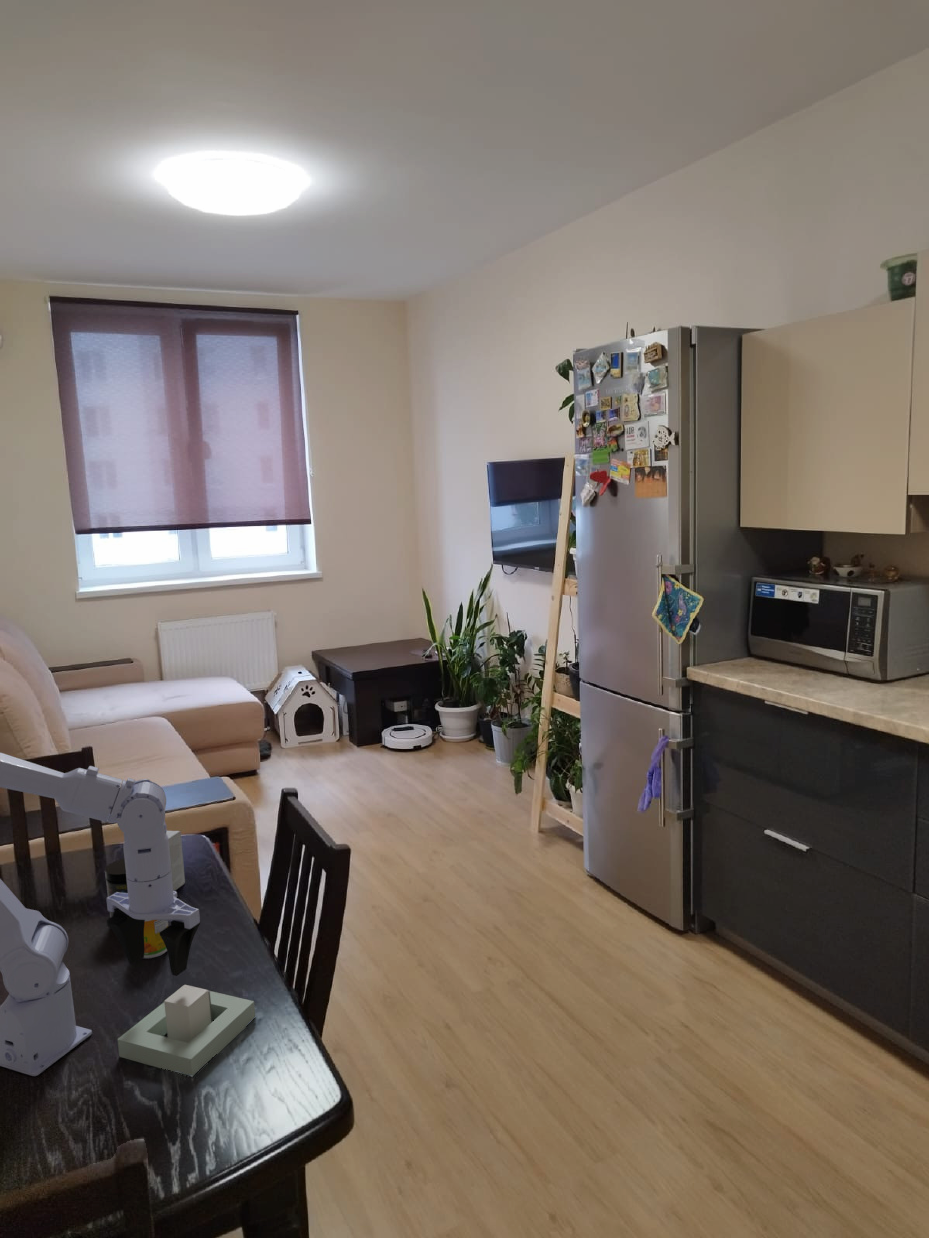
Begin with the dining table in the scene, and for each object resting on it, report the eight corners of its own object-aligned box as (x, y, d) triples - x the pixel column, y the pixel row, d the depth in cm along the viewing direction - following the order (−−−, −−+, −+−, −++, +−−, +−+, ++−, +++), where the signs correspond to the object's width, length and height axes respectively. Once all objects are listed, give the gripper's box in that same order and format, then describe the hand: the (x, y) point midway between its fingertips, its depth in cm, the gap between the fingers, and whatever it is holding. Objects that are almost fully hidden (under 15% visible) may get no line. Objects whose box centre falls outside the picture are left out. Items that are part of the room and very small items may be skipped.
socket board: (192, 1077, 109) (190, 1059, 109) (119, 1056, 114) (117, 1038, 113) (255, 1017, 121) (254, 1001, 120) (186, 1000, 125) (185, 985, 125)
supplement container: (159, 922, 149) (153, 865, 147) (119, 937, 145) (112, 878, 143) (144, 909, 154) (138, 853, 152) (105, 922, 150) (98, 865, 148)
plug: (192, 1048, 115) (188, 1006, 114) (168, 1041, 116) (164, 1000, 115) (217, 1025, 119) (213, 985, 118) (194, 1019, 121) (190, 979, 120)
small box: (130, 892, 161) (125, 838, 159) (150, 879, 166) (144, 826, 164) (168, 897, 158) (162, 842, 157) (186, 883, 164) (181, 830, 162)
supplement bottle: (127, 954, 139) (121, 897, 137) (153, 938, 144) (147, 883, 142) (151, 962, 136) (145, 904, 135) (177, 945, 141) (171, 889, 140)
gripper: (211, 868, 118) (219, 961, 120) (130, 853, 124) (139, 942, 126) (174, 890, 111) (183, 988, 113) (91, 874, 117) (101, 967, 119)
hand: (157, 966), depth 119 cm, fingers open, 7 cm apart
